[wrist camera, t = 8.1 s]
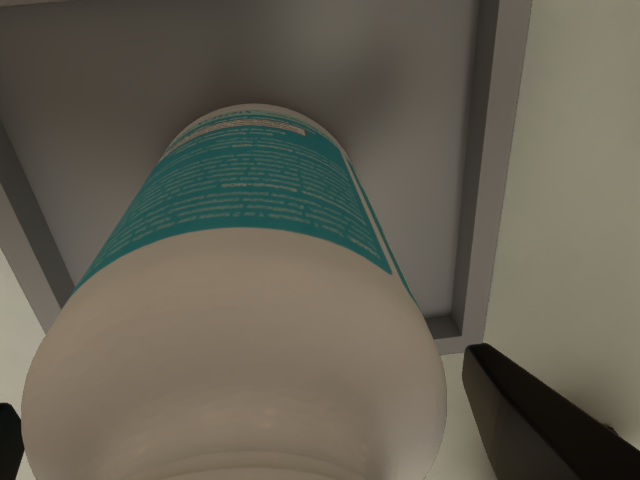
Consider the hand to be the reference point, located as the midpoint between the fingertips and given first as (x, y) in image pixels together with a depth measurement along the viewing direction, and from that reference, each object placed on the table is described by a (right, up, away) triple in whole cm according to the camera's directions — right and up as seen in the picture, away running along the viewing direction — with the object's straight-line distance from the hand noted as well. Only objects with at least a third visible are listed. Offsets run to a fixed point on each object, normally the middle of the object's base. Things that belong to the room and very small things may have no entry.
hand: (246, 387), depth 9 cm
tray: (-1, +5, +8) cm, 10 cm away
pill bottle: (-1, +5, +8) cm, 9 cm away
